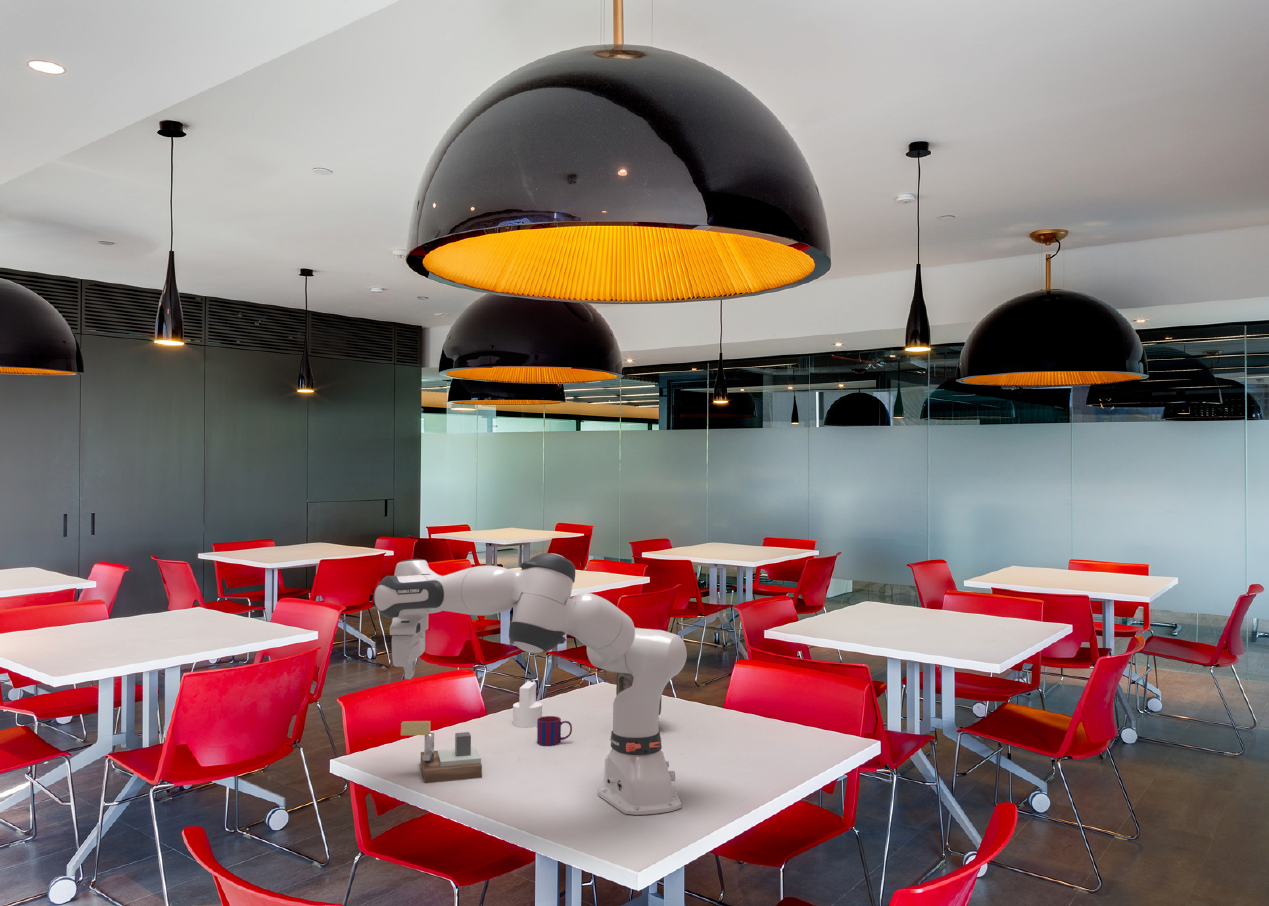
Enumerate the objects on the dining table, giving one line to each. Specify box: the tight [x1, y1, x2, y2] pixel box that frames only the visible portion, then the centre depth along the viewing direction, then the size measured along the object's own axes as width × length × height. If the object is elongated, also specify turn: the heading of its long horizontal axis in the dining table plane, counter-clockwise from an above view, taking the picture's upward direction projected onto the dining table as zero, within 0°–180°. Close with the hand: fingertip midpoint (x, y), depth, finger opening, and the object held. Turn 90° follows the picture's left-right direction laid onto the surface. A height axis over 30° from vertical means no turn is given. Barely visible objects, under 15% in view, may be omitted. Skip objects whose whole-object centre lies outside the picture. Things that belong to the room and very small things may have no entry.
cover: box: [436, 731, 482, 767], centre depth 219 cm, size 10×10×6 cm
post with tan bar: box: [400, 720, 435, 762], centre depth 215 cm, size 8×5×10 cm, turn 94°
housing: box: [420, 750, 483, 784], centre depth 219 cm, size 16×14×3 cm
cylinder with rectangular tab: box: [512, 681, 543, 729], centre depth 265 cm, size 9×9×12 cm
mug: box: [536, 715, 573, 747], centre depth 244 cm, size 7×10×7 cm
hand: (409, 677), depth 215 cm, fingers closed
